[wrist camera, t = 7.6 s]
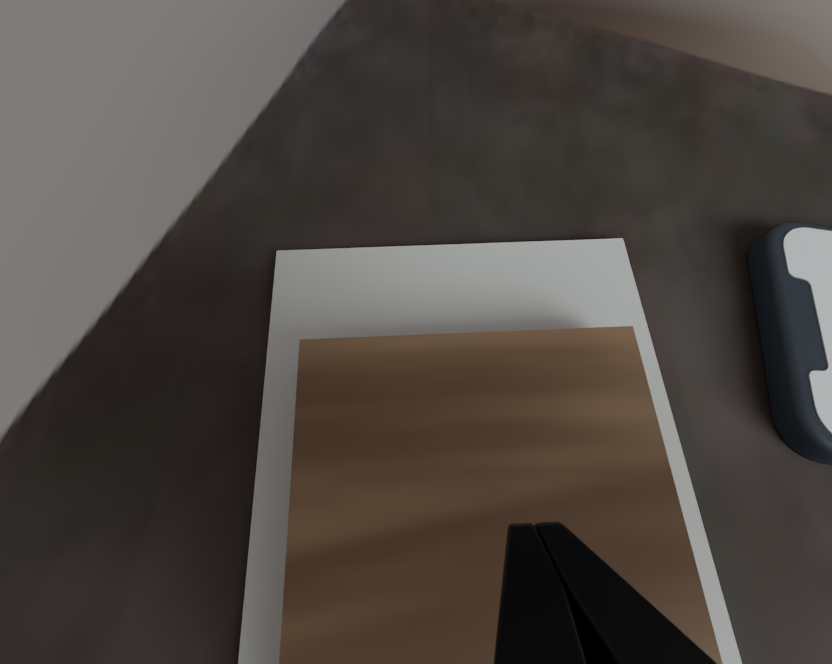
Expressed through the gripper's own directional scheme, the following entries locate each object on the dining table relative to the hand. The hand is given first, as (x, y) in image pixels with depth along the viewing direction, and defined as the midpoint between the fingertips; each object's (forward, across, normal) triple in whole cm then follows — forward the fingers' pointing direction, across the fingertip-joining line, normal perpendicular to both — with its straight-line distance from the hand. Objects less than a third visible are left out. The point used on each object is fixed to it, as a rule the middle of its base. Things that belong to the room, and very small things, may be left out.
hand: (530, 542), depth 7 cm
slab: (+1, 0, +7) cm, 7 cm away
